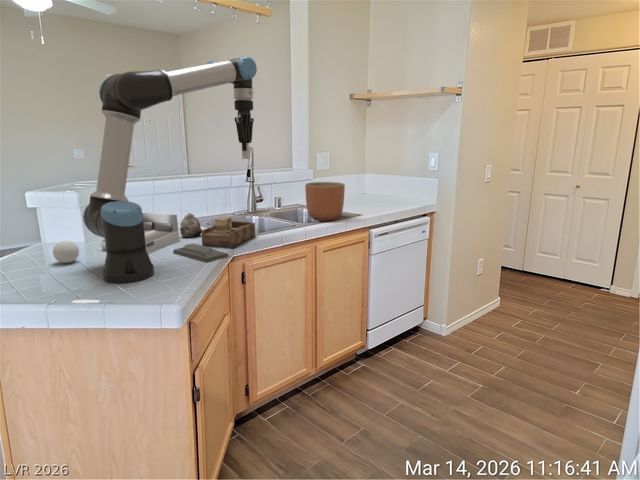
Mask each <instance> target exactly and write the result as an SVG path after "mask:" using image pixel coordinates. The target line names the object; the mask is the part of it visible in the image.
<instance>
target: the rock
mask: <svg viewBox="0 0 640 480" xmlns="http://www.w3.org/2000/svg"><path fill="white" fill-rule="evenodd" d="M179 230H180V235H181V236H182V237H185V238H191V237H194V236H195V237H200V236H201V235H202V233H201V230H203V229H202V228H201V223H200V221H199V219H198V218H196V217H195V215H194V214H193V213H190V212H189V213H187V215H185V216H184V217H183V220H181V222H180V228H179Z"/></svg>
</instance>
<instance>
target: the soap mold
mask: <svg viewBox="0 0 640 480" xmlns="http://www.w3.org/2000/svg"><path fill="white" fill-rule="evenodd" d="M172 252H173V255H177V256H180V257H184V258H188V259H192V260H195V261H199V262H202V263H210V262H214V261H217V260H220V259H221V260H222V259H224V258H228V257H229V254H228V253H227V252H224V251H219V250H217V249H214V248H213V247H209V246H202V244H201V245H200V244H196V243H189V244H185V245H184V246H182V247H179V248H174V249H173V251H172Z"/></svg>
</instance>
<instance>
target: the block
mask: <svg viewBox="0 0 640 480" xmlns="http://www.w3.org/2000/svg"><path fill="white" fill-rule="evenodd" d="M232 221H233V219H232V217H229V216H220V217H216V218H214V225H215V230H216V231H228V230H230V229H232Z"/></svg>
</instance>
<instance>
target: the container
mask: <svg viewBox="0 0 640 480" xmlns="http://www.w3.org/2000/svg"><path fill="white" fill-rule="evenodd" d="M142 213H143V217H144V218H143V221H144V232H145V242H146V251H147V253H148V255H149V254H151V253H153V252H156V251H158V250H161V249H163V248H166V247H168V246H170V245H172V244H174V243H177V242H180V233H179V223H178V214H170V213H169V214H167V213H151V212H149V213H148V212H142ZM100 243H101V249H102V251H103V252H106V246H105V239H103V240H102V241H101V242H100Z"/></svg>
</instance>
